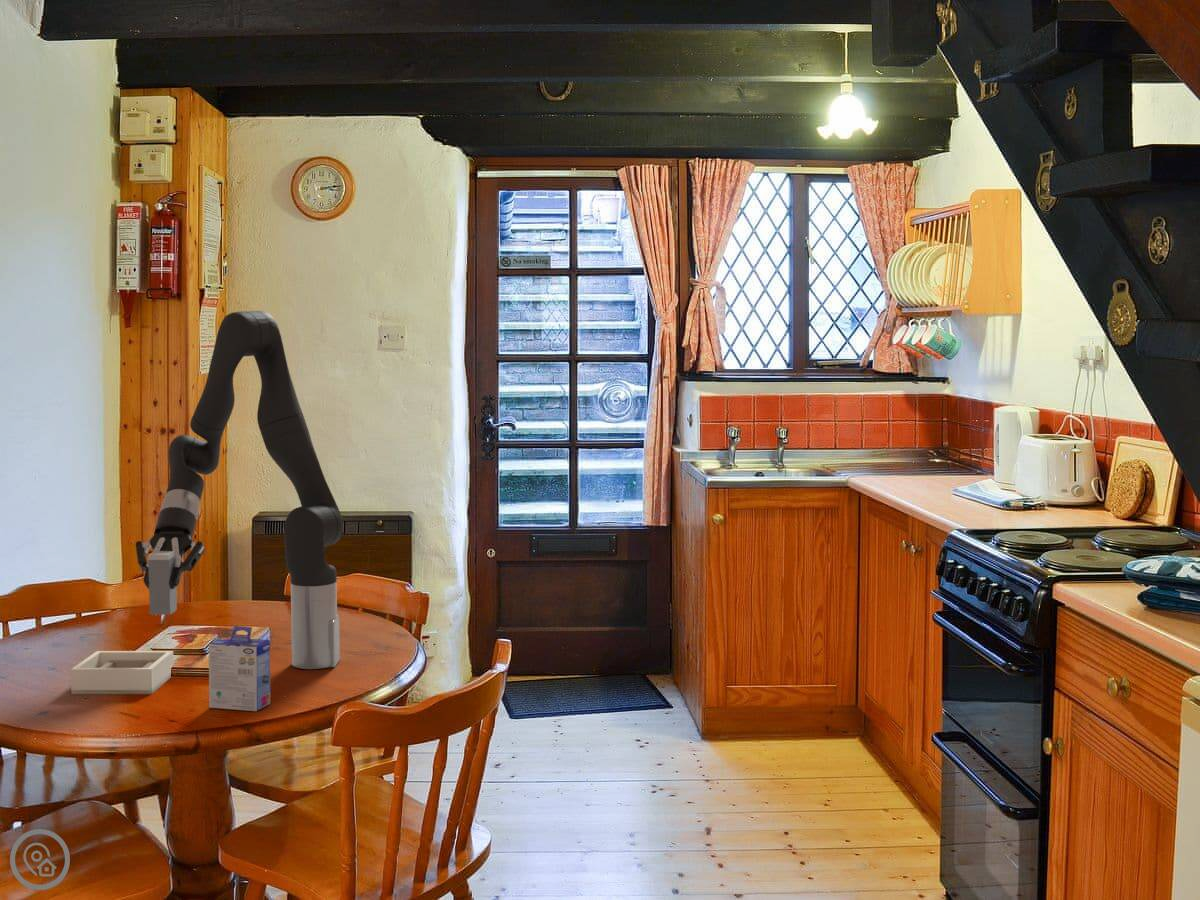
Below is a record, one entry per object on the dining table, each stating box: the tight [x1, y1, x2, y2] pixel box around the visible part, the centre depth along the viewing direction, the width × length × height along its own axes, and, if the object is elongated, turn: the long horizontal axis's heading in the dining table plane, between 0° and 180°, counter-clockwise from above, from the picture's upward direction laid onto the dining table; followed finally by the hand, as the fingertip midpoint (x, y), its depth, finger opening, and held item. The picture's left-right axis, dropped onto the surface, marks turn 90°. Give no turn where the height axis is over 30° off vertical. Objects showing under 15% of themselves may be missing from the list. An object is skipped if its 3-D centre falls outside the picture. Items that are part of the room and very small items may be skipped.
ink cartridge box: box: [208, 625, 272, 712], centre depth 219 cm, size 10×6×14 cm, turn 78°
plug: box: [147, 551, 178, 616], centre depth 239 cm, size 4×4×12 cm
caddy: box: [70, 650, 175, 695], centre depth 233 cm, size 15×13×5 cm
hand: (160, 586), depth 238 cm, fingers closed on plug, 4 cm apart
